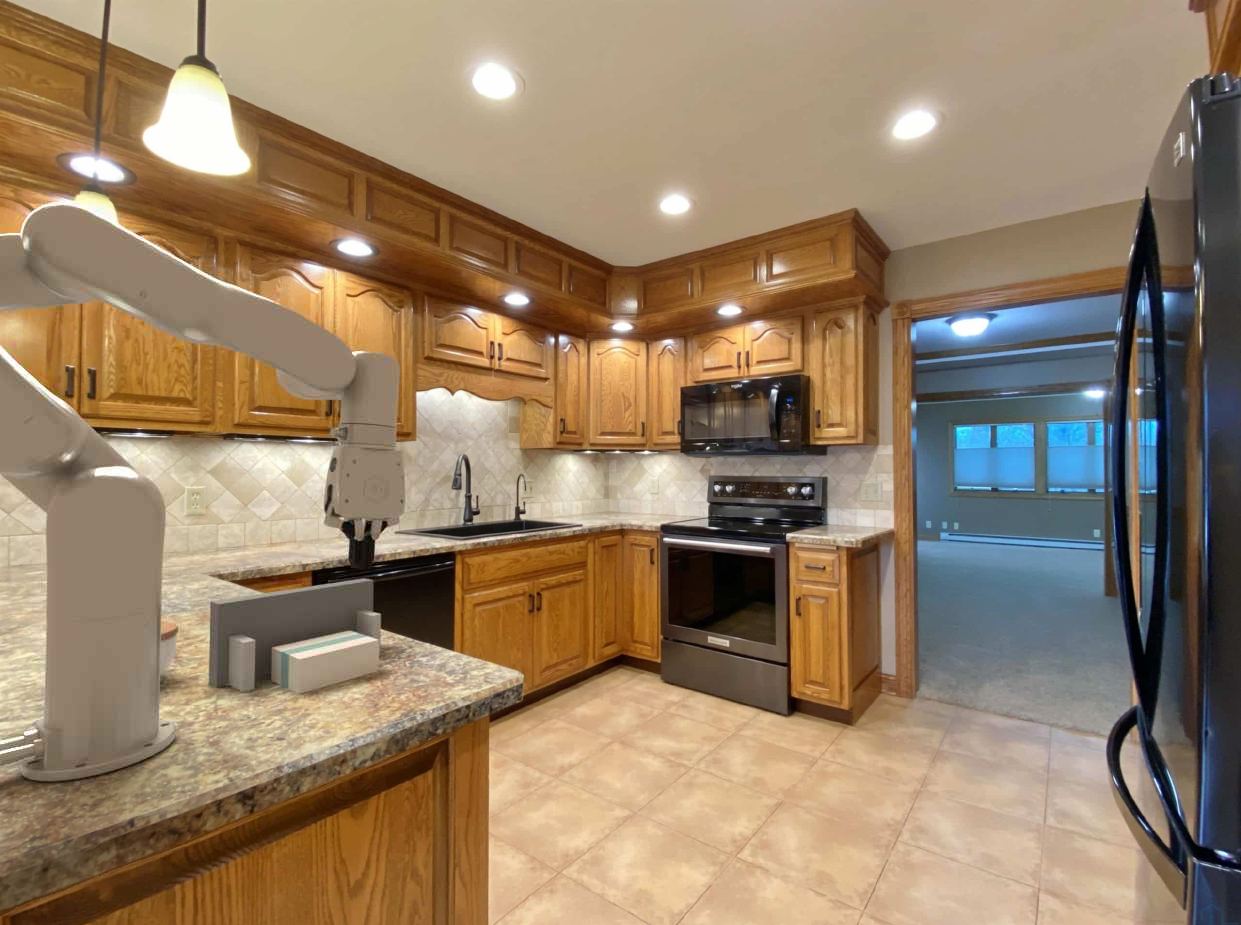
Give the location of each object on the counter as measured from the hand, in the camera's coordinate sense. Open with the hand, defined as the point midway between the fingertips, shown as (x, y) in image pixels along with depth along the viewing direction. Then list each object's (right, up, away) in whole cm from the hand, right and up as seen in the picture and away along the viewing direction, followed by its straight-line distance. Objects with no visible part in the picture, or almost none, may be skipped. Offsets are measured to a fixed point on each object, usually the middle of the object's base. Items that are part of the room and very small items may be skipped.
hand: (360, 567), depth 81 cm
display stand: (-14, -18, +10) cm, 25 cm away
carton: (-8, -18, +7) cm, 21 cm away
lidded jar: (-35, -18, +3) cm, 39 cm away
